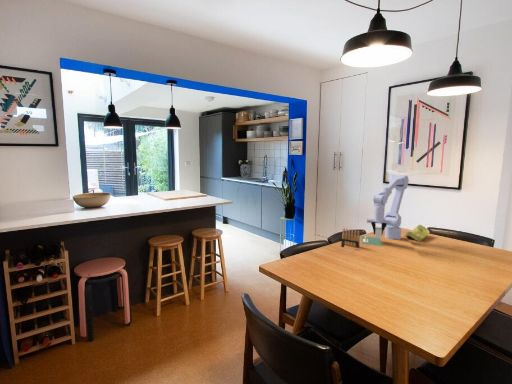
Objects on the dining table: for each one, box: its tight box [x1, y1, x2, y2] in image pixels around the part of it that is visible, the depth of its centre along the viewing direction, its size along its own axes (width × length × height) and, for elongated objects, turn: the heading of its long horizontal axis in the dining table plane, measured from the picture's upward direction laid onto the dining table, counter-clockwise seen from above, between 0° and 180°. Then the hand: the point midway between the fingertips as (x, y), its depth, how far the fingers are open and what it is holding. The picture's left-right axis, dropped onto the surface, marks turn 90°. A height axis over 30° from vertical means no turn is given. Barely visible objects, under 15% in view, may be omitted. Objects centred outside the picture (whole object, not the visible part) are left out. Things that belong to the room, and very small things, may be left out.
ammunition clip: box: [340, 227, 361, 251], centre depth 177 cm, size 11×2×12 cm, turn 55°
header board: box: [360, 235, 384, 247], centre depth 187 cm, size 12×18×4 cm, turn 162°
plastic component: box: [403, 224, 430, 242], centre depth 202 cm, size 20×7×10 cm
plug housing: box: [374, 226, 383, 238], centre depth 184 cm, size 4×7×5 cm, turn 162°
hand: (377, 234), depth 185 cm, fingers closed on plug housing, 4 cm apart
